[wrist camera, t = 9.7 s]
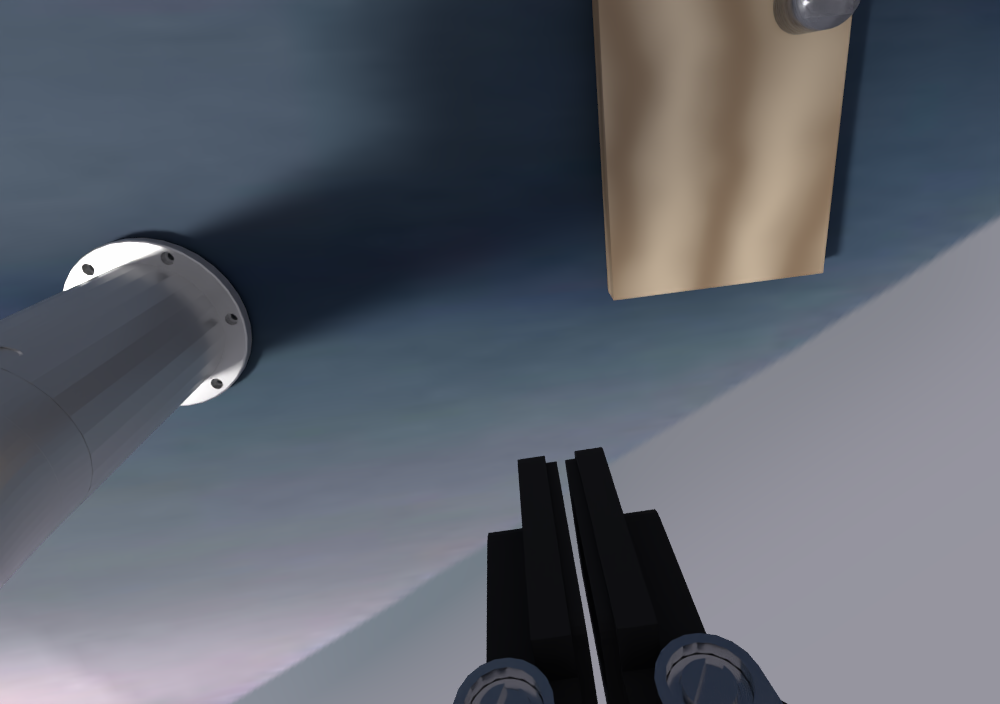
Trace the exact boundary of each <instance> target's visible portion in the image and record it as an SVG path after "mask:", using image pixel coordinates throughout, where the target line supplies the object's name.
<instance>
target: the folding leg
mask: <svg viewBox="0 0 1000 704" xmlns="http://www.w3.org/2000/svg"><path fill="white" fill-rule="evenodd" d="M860 1H861V0H774V3H773V14H774V18H775V21H776V23H777V25H778V26H779V27H780V28H781V29H782V30H783V31H784V32H786V33H788V34H792V35H800V34H806V33H811V32H816V31H821V30H826V29H831V28H834V27H837V26H839V25H840V24H842V23H843V22H845V21H846V20H847V19H848V18H849V17H850V16H851V15H852V14H853V13H854V11H855V10H856V8H857V7H858V5H859V3H860Z"/></svg>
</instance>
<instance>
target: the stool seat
mask: <svg viewBox="0 0 1000 704" xmlns="http://www.w3.org/2000/svg"><path fill="white" fill-rule="evenodd" d="M773 3H774V0H592V8H593V26H594V44H595V62H596V80H597V98H598V116H599V134H600V152H601V170H602V188H603V206H604V224H605V242H606V260H607V278H608V291H609V293H610V295H611V296H612V298H613V300H620V299H628V298H635V297H643V296H651V295H658V294H666V293H673V292H681V291H689V290H696V289H704V288H712V287H719V286H727V285H734V284H742V283H750V282H757V281H765V280H773V279H780V278H788V277H796V276H803V275H811V274H818V273H823V268H824V259H825V250H826V241H827V232H828V224H829V215H830V206H831V197H832V188H833V180H834V171H835V162H836V153H837V144H838V136H839V127H840V118H841V109H842V100H843V92H844V83H845V74H846V65H847V56H848V48H849V39H850V30H851V21H852V15H851V16H850V17H849V18H848V19H847V20H846V21H845V22H843V23H842V24H840V25H839V26H837V27H834V28H831V29H826V30H821V31H816V32H811V33H806V34H800V35H792V34H788V33H786V32H784V31H783V30H782V29H781V28H780V27H779V26H778V25H777V23H776V21H775V18H774V14H773Z"/></svg>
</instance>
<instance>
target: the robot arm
mask: <svg viewBox="0 0 1000 704" xmlns="http://www.w3.org/2000/svg"><path fill="white" fill-rule="evenodd" d="M171 254H172V256H173V257H174V258H173V257H172V256H171ZM234 315H236V317H235V316H234ZM251 345H252V333H251V324H250V321H249V317H248V314H247V311H246V308H245V306H244V304H243V302H242V300H241V298H240V296H239V294H238V293H237V292H236V290H235V289H234V287H233V286H232V285H231V283H230V282H229V281H228V279H227V278H226V277H225V276H224V275H222V274H221V273H220V272H219V271H218V270H217V269H216V268H215V267H214V266H213V265H212V264H210V263H209V262H207V261H206V260H205V259H203V258H202V257H200V256H199V255H197V254H195V253H193V252H191V251H189V250H187V249H186V248H184V247H182V246H179V245H176V244H173V243H169V242H166V241H163V240H157V239H150V238H126V239H122V240H118V241H114V242H110V243H107V244H105V245H103V246H100V247H98V248H95V249H93V250H92V251H90V252H89V253H88V254H86V255H85V256H83V257H82V258H81V259H80V260H79V261H78V262H77V263H76V264H75V266H74V267H73V268H72V269H71V271H70V273H69V275H68V277H67V279H66V281H65V284H64V289H63V291H62V292H60V293H58V294H56V295H54V296H52V297H49V298H47V299H45V300H43V301H41V302H38V303H36V304H34V305H32V306H30V307H28V308H25V309H23V310H21V311H19V312H17V313H15V314H12V315H10V316H8V317H6V318H4V319H1V320H0V589H1V588H2V587H3V585H4V584H5V583H6V582H7V581H8V580H9V579H10V578H11V576H12V575H13V574H14V573H15V572H16V571H17V570H18V569H19V567H20V566H21V565H22V564H23V563H24V562H25V561H26V560H27V559H28V558H29V557H30V556H31V554H32V553H33V552H34V551H35V550H36V549H37V548H38V547H39V546H40V545H41V544H42V543H43V542H44V541H45V540H46V539H47V538H48V537H49V536H50V535H51V534H52V533H53V532H54V531H55V530H56V529H57V528H58V527H59V526H60V525H61V524H62V523H63V522H64V521H65V520H66V519H67V518H68V517H69V516H70V515H71V514H72V513H73V512H74V511H75V510H76V509H77V508H78V507H79V505H80V504H82V503H83V502H84V501H85V500H86V499H87V498H88V497H89V496H90V495H91V494H92V493H93V492H94V491H95V490H96V489H97V488H98V487H99V486H100V485H101V484H102V483H103V482H104V481H105V480H106V479H107V478H108V477H109V476H110V475H111V474H112V473H113V472H114V471H115V470H116V469H117V468H118V467H119V466H120V465H121V464H122V463H123V462H124V461H125V460H126V459H127V458H128V457H129V456H130V455H131V454H132V453H133V452H134V451H135V450H136V449H137V448H138V447H139V446H140V445H141V444H142V443H143V442H144V441H145V440H146V439H147V438H148V437H149V436H150V435H151V434H152V433H153V432H154V431H155V430H156V429H157V428H158V427H159V426H160V425H161V424H162V423H163V422H164V421H165V420H166V419H167V418H168V417H169V416H170V415H171V414H172V413H173V412H174V411H175V410H176V409H177V408H178V407H179V406H189V405H194V404H198V403H203V402H206V401H208V400H210V399H213V398H215V397H217V396H219V395H220V394H221V393H223V392H224V391H226V390H227V389H228V388H229V387H230V386H231V385H232V384H233V383H234V382H235V381H236V380H237V379H238V377H239V376H240V374H241V373H242V372H243V370H244V369H245V367H246V364H247V362H248V359H249V356H250V353H251ZM565 463H566V470H567V477H568V484H569V491H570V497H571V504H572V511H573V517H574V524H575V531H576V538H577V544H578V551H579V558H580V564H581V570H582V576H583V581H584V587H585V591H586V597H587V602H588V608H589V613H590V618H591V623H592V628H593V634H594V639H595V644H596V650H597V655H598V660H599V665H600V671H601V676H602V681H603V687H604V692H605V696H606V702H607V704H787V703H785V702H783V701H781V700H780V698H779V697H778V695H777V693H776V692H775V690H774V689H773V687H772V686H771V684H770V683H769V681H768V680H767V678H766V677H765V675H764V673H763V672H762V670H761V669H760V667H759V666H758V665H757V663H756V662H755V661H754V660H753V659H752V658H751V656H750V655H749V654H748V653H747V652H746V651H745V650H743V649H742V648H740V647H739V646H738V645H736V644H734V643H733V642H732V641H729V640H726V639H724V638H722V637H719V636H717V635H710V634H706V632H705V630H704V627H703V625H702V622H701V620H700V617H699V615H698V612H697V610H696V607H695V605H694V602H693V600H692V597H691V595H690V592H689V589H688V587H687V585H686V582H685V579H684V577H683V575H682V572H681V569H680V567H679V564H678V562H677V560H676V557H675V554H674V552H673V549H672V547H671V544H670V542H669V539H668V537H667V534H666V532H665V530H664V527H663V525H662V522H661V519H660V517H659V515H658V513H657V511H656V510H655V509H654V510H647V511H640V512H633V513H626V514H623V511H622V508H621V505H620V502H619V498H618V495H617V492H616V489H615V486H614V483H613V479H612V476H611V473H610V470H609V467H608V464H607V460H606V457H605V454H604V451H603V448H602V447H599V448H593V449H586V450H579V451H575V459H570V460H565ZM518 473H519V487H520V501H521V515H522V528H521V529H514V530H507V531H500V532H493V533H489V534H488V542H487V663H485V664H483V665H481V666H479V668H477V669H476V670H475V671H473V672H472V673H471V674H470V675H468V676H467V678H466V679H465V681H464V682H463V683H462V685H461V686H460V688H459V689H458V692H457V695H456V697H455V700H454V703H453V704H598V702H597V696H596V689H595V682H594V676H593V669H592V662H591V656H590V650H589V643H588V637H587V631H586V625H585V619H584V613H583V608H582V602H581V596H580V591H579V585H578V579H577V574H576V569H575V563H574V557H573V552H572V546H571V540H570V535H569V530H568V524H567V518H566V513H565V507H564V501H563V495H562V490H561V484H560V479H559V473H558V467H557V462H550V463H546V461H545V456H540V457H533V458H526V459H520V460H518Z"/></svg>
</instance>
